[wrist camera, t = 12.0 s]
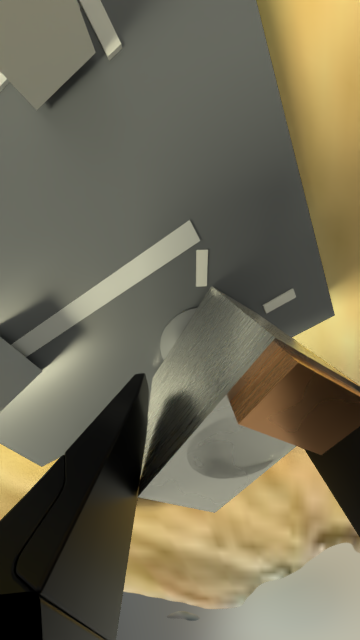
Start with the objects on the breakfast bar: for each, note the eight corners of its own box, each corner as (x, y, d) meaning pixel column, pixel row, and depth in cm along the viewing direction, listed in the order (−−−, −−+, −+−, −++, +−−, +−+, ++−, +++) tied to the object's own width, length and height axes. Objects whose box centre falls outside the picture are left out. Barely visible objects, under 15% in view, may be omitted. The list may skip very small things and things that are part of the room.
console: (58, 438, 14) (39, 469, 12) (-243, 239, 8) (-388, 235, 6) (306, 304, 11) (338, 316, 9) (135, -236, 4) (107, -643, 2)
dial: (194, 394, 10) (219, 536, 5) (152, 377, 10) (134, 522, 4) (256, 313, 8) (393, 409, 3) (211, 285, 8) (294, 353, 3)
